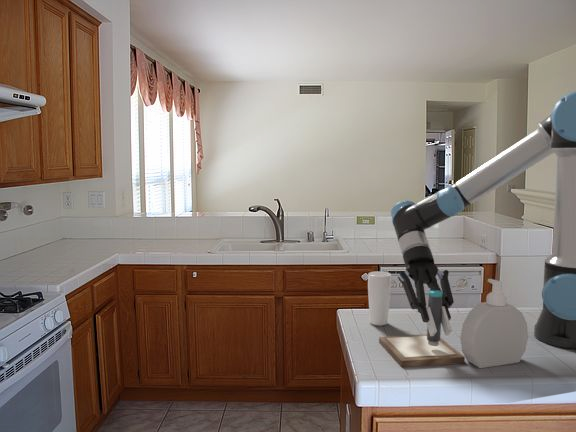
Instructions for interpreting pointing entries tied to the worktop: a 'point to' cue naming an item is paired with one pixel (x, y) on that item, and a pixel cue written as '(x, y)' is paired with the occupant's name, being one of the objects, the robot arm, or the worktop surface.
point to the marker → (435, 315)
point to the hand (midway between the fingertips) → (441, 333)
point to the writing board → (419, 351)
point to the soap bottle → (494, 331)
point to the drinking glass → (379, 297)
